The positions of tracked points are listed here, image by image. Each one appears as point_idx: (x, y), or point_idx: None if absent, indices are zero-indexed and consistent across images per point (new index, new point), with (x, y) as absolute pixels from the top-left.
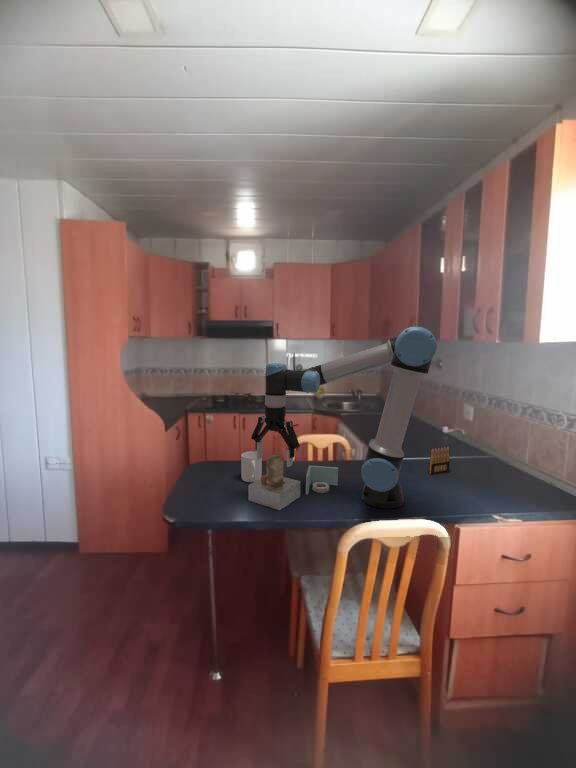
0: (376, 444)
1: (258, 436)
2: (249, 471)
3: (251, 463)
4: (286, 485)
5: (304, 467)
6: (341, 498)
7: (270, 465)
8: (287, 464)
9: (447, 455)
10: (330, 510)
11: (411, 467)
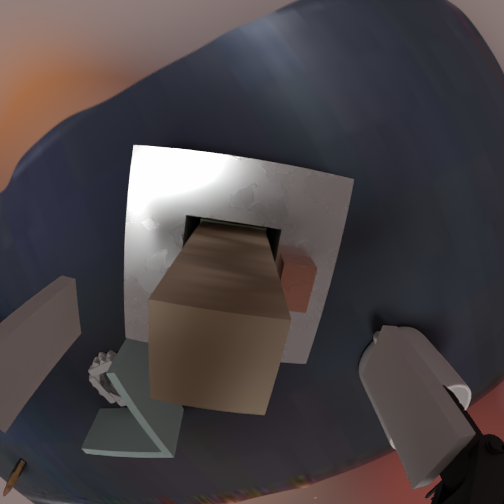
0: None
1: (494, 499)
2: None
3: None
4: (154, 265)
5: (252, 473)
6: None
7: (235, 281)
8: (59, 286)
9: (6, 484)
10: (25, 243)
11: (59, 483)
